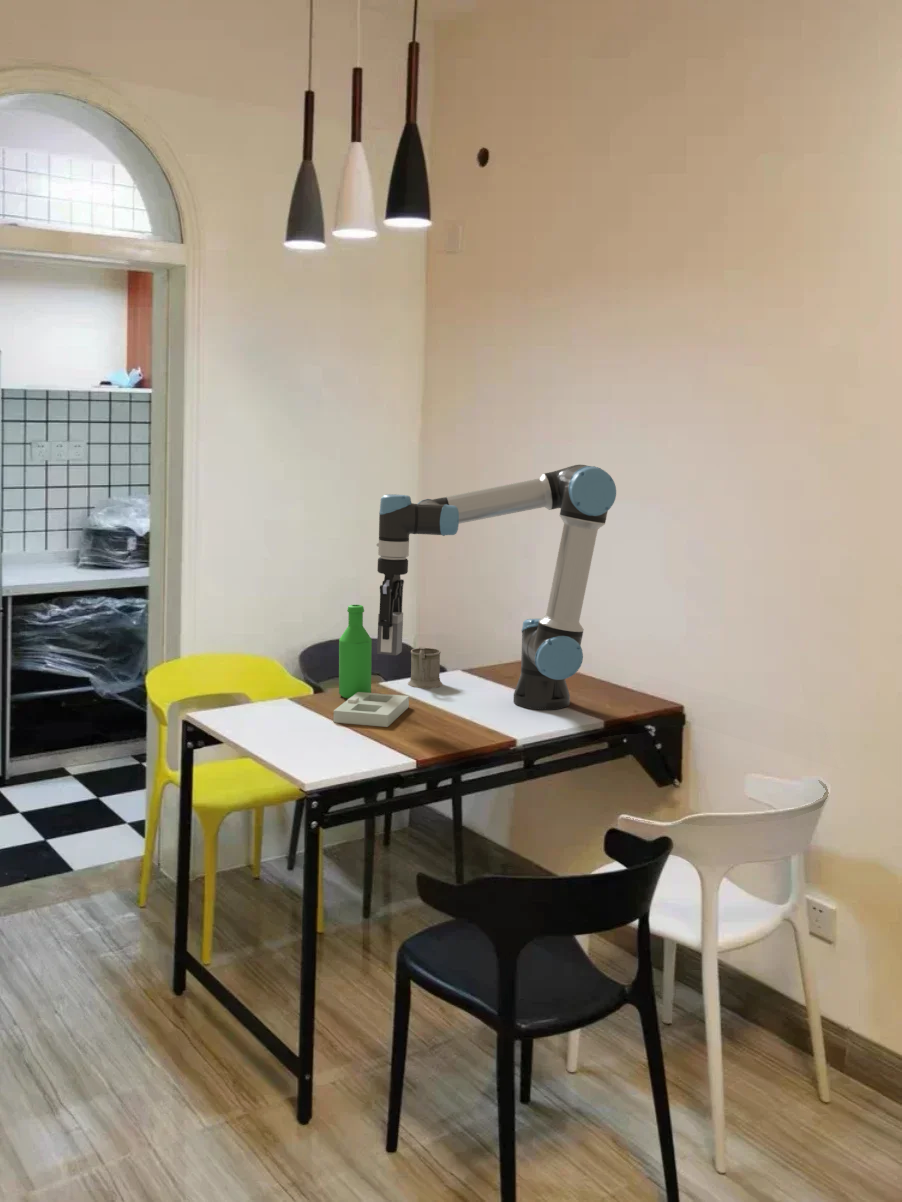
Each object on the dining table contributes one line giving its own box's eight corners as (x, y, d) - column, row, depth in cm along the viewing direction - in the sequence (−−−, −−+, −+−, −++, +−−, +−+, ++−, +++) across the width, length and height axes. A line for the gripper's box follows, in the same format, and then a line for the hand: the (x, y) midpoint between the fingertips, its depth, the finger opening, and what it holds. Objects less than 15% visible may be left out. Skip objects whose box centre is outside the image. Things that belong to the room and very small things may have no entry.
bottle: (373, 692, 312) (374, 603, 308) (368, 700, 303) (369, 608, 299) (342, 691, 313) (342, 602, 309) (335, 699, 304) (336, 607, 300)
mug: (411, 679, 329) (411, 638, 327) (444, 681, 327) (445, 640, 326) (402, 691, 315) (402, 648, 313) (437, 693, 313) (437, 650, 311)
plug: (401, 651, 285) (403, 612, 283) (396, 655, 280) (397, 615, 279) (382, 649, 286) (384, 610, 284) (376, 653, 281) (378, 614, 280)
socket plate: (408, 707, 298) (408, 693, 297) (387, 726, 278) (387, 711, 278) (357, 702, 301) (357, 689, 300) (333, 722, 281) (333, 707, 281)
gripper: (388, 552, 289) (385, 641, 292) (367, 560, 271) (364, 655, 275) (417, 554, 287) (413, 644, 291) (397, 562, 270) (393, 658, 273)
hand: (389, 649), depth 283 cm, fingers closed on plug, 5 cm apart
